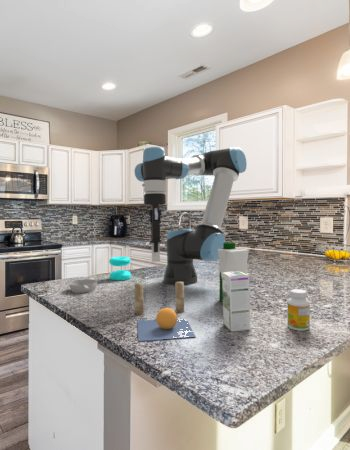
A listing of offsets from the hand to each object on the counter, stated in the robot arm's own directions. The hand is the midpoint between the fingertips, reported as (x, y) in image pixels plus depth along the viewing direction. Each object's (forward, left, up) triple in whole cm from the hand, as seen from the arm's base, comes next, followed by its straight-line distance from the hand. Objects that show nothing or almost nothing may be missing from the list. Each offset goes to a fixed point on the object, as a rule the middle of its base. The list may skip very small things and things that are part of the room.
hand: (155, 261), depth 108 cm
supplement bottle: (-35, +32, -14) cm, 49 cm away
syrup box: (-19, +29, -14) cm, 37 cm away
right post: (-6, +13, -14) cm, 20 cm away
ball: (-1, +27, -11) cm, 29 cm away
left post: (+6, +13, -14) cm, 20 cm away
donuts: (+14, -40, -14) cm, 45 cm away
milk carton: (-26, +6, -14) cm, 30 cm away
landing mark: (0, +27, -14) cm, 30 cm away
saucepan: (+27, -17, -14) cm, 35 cm away
